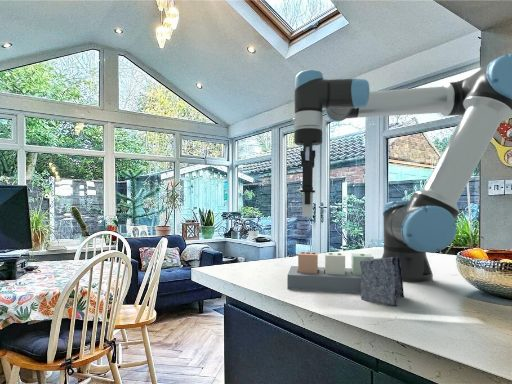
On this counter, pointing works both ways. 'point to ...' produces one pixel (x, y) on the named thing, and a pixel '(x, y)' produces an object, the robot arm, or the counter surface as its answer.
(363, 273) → the stone
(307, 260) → the tile three
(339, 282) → the key board
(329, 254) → the tile two
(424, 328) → the counter surface
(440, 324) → the counter surface
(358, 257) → the tile one
